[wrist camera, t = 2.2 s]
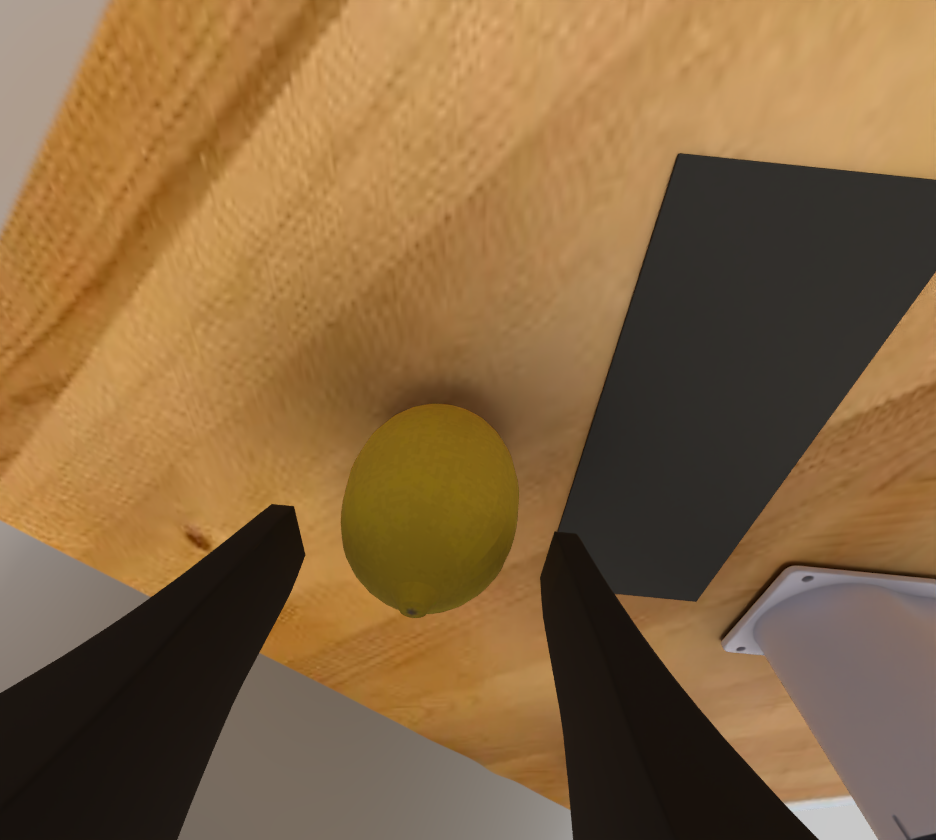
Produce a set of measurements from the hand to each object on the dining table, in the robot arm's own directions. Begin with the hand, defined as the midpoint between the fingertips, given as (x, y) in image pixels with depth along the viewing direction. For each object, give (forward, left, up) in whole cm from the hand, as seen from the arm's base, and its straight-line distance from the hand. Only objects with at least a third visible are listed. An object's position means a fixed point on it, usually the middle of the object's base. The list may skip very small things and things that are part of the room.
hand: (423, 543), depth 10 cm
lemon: (0, 0, -6) cm, 6 cm away
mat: (-11, 0, -6) cm, 12 cm away
